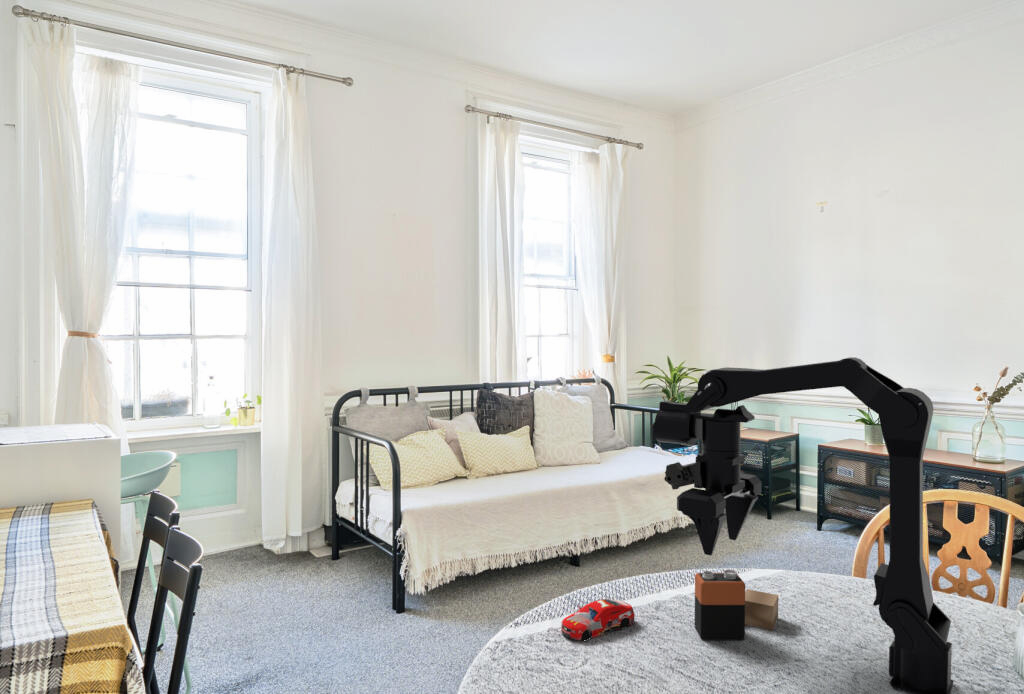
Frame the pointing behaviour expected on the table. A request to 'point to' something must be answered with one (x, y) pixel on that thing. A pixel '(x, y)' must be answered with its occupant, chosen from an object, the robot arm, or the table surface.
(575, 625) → the race car
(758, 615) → the walnut block
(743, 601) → the battery
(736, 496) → the robot arm
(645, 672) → the table surface
